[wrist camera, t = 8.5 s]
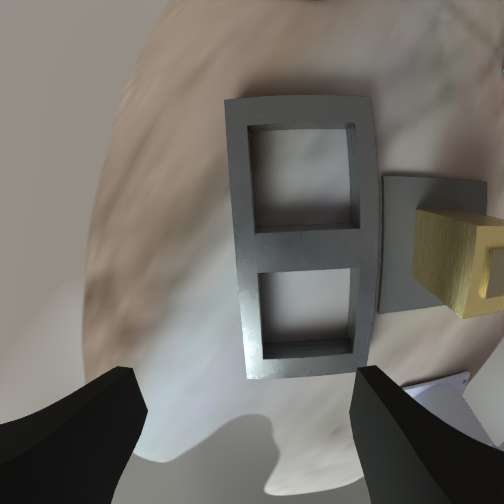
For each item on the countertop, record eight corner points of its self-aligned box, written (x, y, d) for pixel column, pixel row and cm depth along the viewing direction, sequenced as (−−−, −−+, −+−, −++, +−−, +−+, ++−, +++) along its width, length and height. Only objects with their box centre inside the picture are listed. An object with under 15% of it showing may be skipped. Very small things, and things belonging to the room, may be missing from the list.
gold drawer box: (460, 272, 17) (518, 309, 10) (411, 276, 17) (465, 321, 10) (466, 210, 16) (532, 228, 9) (415, 209, 16) (481, 227, 9)
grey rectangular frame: (358, 354, 19) (365, 370, 17) (249, 361, 20) (247, 378, 18) (360, 105, 15) (370, 97, 13) (229, 108, 16) (224, 99, 14)
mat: (473, 297, 17) (476, 299, 17) (377, 311, 18) (378, 313, 18) (483, 181, 15) (486, 182, 15) (381, 175, 16) (383, 175, 16)
